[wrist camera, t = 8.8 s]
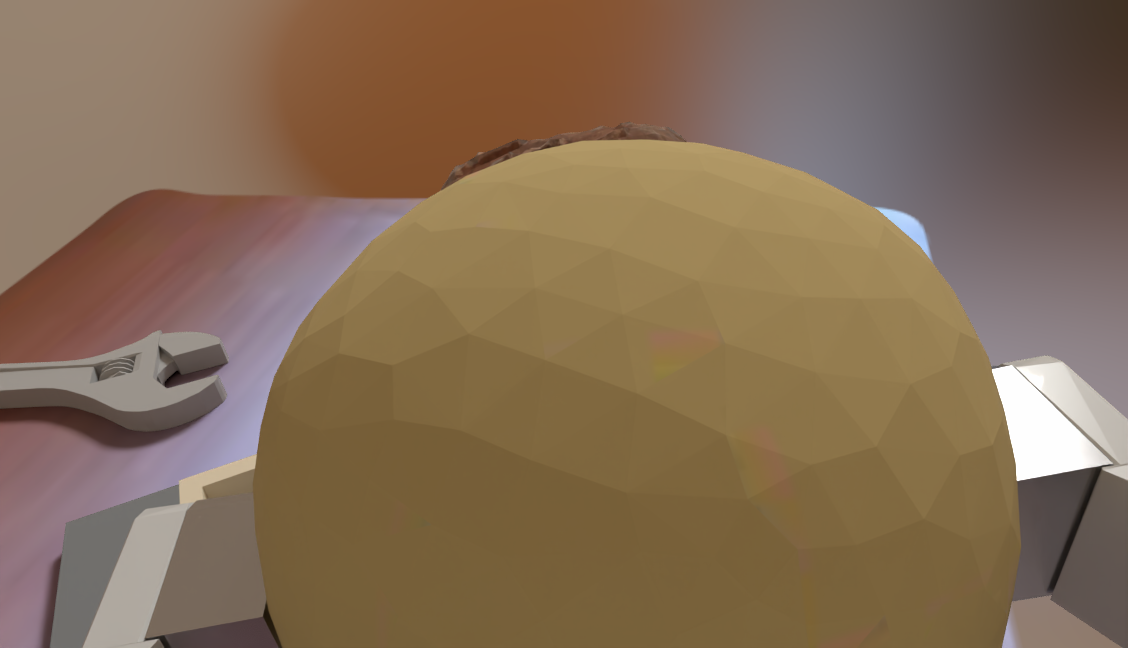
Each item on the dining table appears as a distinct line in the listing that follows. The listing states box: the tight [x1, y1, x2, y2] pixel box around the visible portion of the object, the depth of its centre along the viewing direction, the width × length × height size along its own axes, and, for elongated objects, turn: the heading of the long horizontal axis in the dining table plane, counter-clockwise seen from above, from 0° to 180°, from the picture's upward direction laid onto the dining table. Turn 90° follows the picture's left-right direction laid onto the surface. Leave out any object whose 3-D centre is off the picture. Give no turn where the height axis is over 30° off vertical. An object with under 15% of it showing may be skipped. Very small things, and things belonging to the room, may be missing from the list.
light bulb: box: [253, 140, 1021, 648], centre depth 9 cm, size 6×6×10 cm
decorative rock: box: [441, 122, 686, 190], centre depth 38 cm, size 13×11×10 cm
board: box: [50, 454, 257, 648], centre depth 28 cm, size 20×14×2 cm
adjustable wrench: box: [0, 330, 229, 431], centre depth 41 cm, size 25×6×2 cm, turn 81°
